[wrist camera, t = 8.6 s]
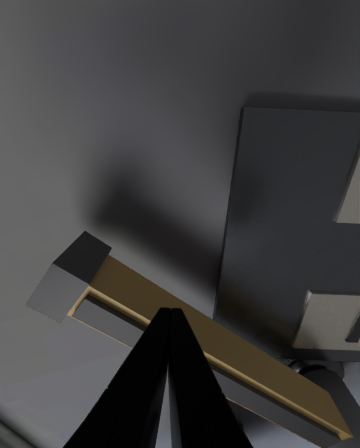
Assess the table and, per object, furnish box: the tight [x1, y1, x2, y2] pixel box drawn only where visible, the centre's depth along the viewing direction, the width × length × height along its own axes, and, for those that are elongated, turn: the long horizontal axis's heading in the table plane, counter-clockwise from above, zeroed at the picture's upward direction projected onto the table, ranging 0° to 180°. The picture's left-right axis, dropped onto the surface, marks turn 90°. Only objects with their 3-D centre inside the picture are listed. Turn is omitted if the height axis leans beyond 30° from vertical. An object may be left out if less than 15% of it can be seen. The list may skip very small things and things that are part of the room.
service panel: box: [213, 107, 360, 379], centre depth 15 cm, size 22×18×1 cm
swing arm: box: [26, 231, 360, 448], centre depth 13 cm, size 23×4×4 cm, turn 52°
